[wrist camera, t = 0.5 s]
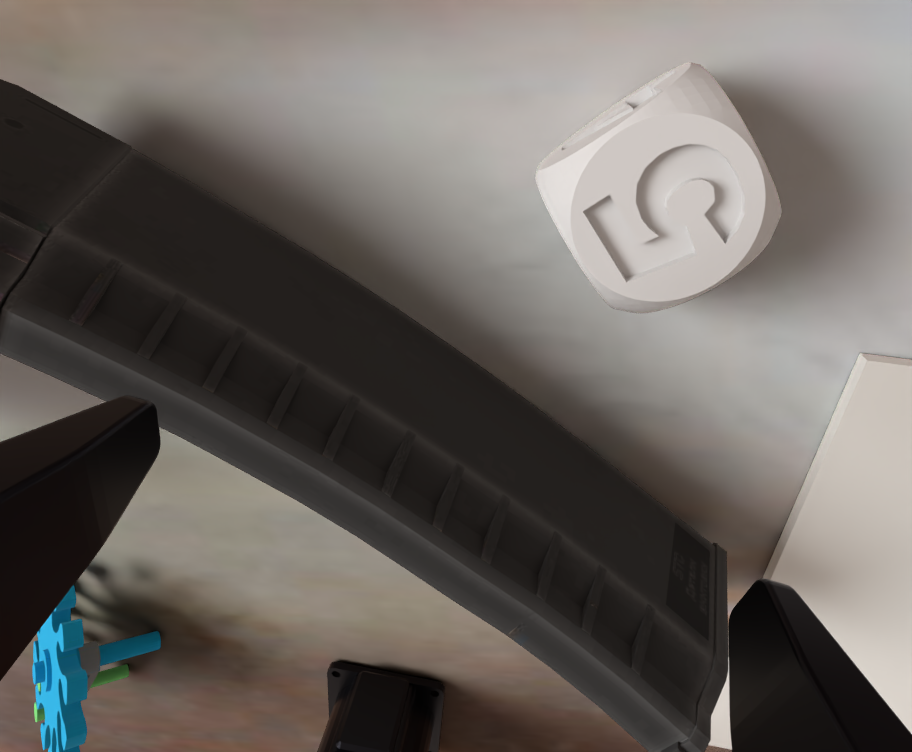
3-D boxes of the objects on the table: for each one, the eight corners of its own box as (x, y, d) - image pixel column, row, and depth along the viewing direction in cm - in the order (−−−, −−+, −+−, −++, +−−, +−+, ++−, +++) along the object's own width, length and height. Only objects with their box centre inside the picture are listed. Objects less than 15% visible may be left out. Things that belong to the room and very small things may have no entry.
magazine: (848, 774, 18) (-806, 361, 6) (762, 814, 20) (-701, 537, 8) (652, 406, 32) (11, 57, 20) (610, 446, 33) (-9, 143, 21)
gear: (37, 539, 30) (59, 753, 26) (163, 520, 34) (201, 704, 30) (14, 623, 37) (28, 807, 32) (122, 600, 41) (148, 760, 36)
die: (536, 158, 20) (528, 187, 16) (679, 58, 18) (715, 59, 14) (612, 281, 22) (624, 337, 17) (751, 200, 20) (805, 241, 15)
